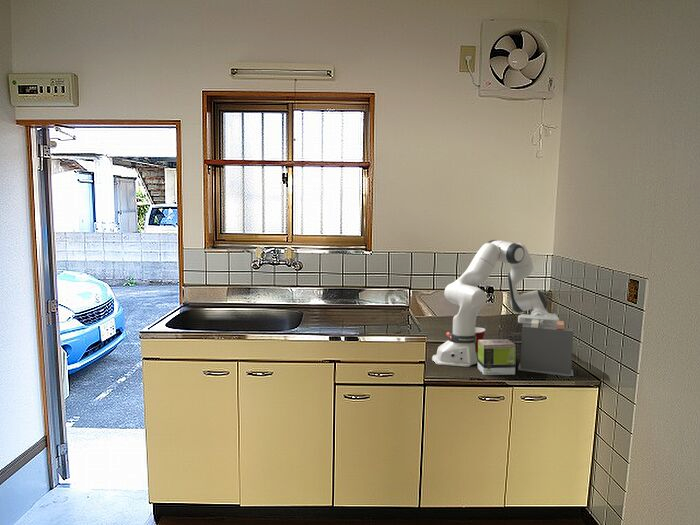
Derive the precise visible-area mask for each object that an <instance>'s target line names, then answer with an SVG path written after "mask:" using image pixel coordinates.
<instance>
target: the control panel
mask: <svg viewBox="0 0 700 525" xmlns="http://www.w3.org/2000/svg"><path fill="white" fill-rule="evenodd" d="M573 343H574V329H573V328H571V327H564V329H557V326H556V327H555V326H540V325H538V328H534V327H531V324H524V323H522V326H521V345H520V346H521V348H520V362H519V363H518V368H517V371H523V372H530V373H531V372H532V373H539V374H546V375H547V374H548V375H553V376H556V375H557V376H564V377H570V376H573V377H574V370H573V369H572V364H573Z"/></svg>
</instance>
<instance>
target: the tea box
mask: <svg viewBox="0 0 700 525" xmlns="http://www.w3.org/2000/svg"><path fill="white" fill-rule="evenodd" d="M516 353H517V352H516V343H514V342H513V341H511V340H510V339H508V338H497V339H493V338H492V339H491V338H490V339H483V340H478V352H477V361H478V362H477V369H478V370H479V372H480V373H481V372H482V373H481V374H482V375H484V376H500V375H501V376H503V375H504V376H505V375H506V376H507V375H508V376H510V375H516V355H517V354H516Z"/></svg>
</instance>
